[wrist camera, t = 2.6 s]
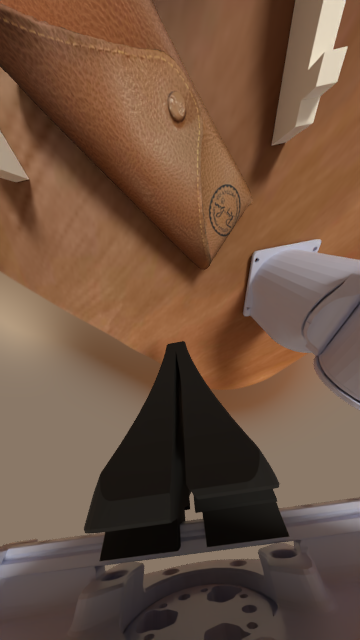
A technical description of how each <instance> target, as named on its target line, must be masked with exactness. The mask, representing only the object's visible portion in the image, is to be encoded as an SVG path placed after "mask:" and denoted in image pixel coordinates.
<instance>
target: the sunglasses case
mask: <svg viewBox="0 0 360 640" xmlns="http://www.w3.org/2000/svg"><path fill="white" fill-rule="evenodd" d="M0 67H1V68H2V69H3V70H4V71H5V72H6V73H8V74H9V76H10V77H11V78H12V79H13V80H14V81H15V82H16V83H17V84H18V85H19V86H20V87H21V88H22V89H23V90H24V92H25V93H26V94H27V95H28V96H29V97H30V98H31V99H32V100H33V101H34V102H35V103H36V104H37V105H38V106H39V107H40V108H41V109H42V110H43V111H44V112H45V114H46V115H47V116H48V117H49V118H50V119H51V120H53V122H54V123H55V124H56V125H57V126H58V127H59V128H60V129H61V130H62V131H63V132H64V133H65V134H66V135H67V136H68V137H69V138H70V139H71V140H72V141H73V142H74V143H75V144H76V145H77V146H78V147H79V148H80V149H81V150H82V151H83V152H84V153H85V154H86V155H87V156H88V157H89V158H90V159H91V161H93V162H94V163H95V164H96V166H98V167H99V168H100V169H101V170H102V171H103V172H104V173H105V174H106V175H107V177H108V178H110V179H111V180H112V181H113V182H114V183H115V184H116V185H117V186H118V187H119V188H120V190H121V191H122V192H123V193H125V194H126V195H127V197H129V198H130V200H131V201H132V202H133V203H135V205H136V206H137V207H138V208H139V209H140V210H141V211H142V212H143V213H144V214H145V215H146V216H147V217H148V218H149V219H150V220H151V221H152V222H153V223H154V224H155V225H156V226H157V227H158V228H159V229H160V230H161V231H162V232H163V233H164V234H165V235H166V236H167V237H168V238H169V239H170V240H171V241H172V242H173V243H174V244H175V245H176V246H177V247H178V248H179V249H180V250H181V251H182V252H183V253H184V254H185V255H186V256H187V257H188V258H190V259H191V261H192V262H194V263H195V264H196V265H197V266H198V267H199V268H200V269H202V270H205V269H207V268H208V267H209V266H210V263H211V261H212V260H213V258H214V257H215V255H216V254H217V252H218V250H219V249H220V247H221V246H222V244H223V243H224V241H225V240H226V238H227V236H228V235H229V234H230V232H231V231H232V229H233V227H234V226H235V224H236V223H237V221H238V220H239V219H240V217H241V216H242V214H243V213H244V211H245V210H246V208H247V207H248V206H249V205H250V204H252V203H253V201H252V196H251V193H250V191H249V189H248V186H247V184H246V183H245V181H244V179H243V177H242V175H241V173H240V171H239V169H238V168H237V166H236V164H235V162H234V160H233V158H232V157H231V155H230V153H229V152H228V149H227V147H226V146H225V144H224V142H223V140H222V138H221V136H220V135H219V133H218V131H217V129H216V127H215V125H214V123H213V121H212V119H211V118H210V116H209V114H208V111H207V110H206V108H205V106H204V104H203V102H202V100H201V98H200V96H199V94H198V92H197V91H196V89H195V87H194V84H193V82H192V80H191V78H190V76H189V74H188V73H187V70H186V68H185V67H184V65H183V63H182V61H181V59H180V57H179V55H178V53H177V51H176V49H175V47H174V44H173V43H172V41H171V39H170V37H169V35H168V33H167V32H166V29H165V27H164V25H163V23H162V21H161V19H160V17H159V15H158V13H157V11H156V9H155V7H154V5H153V3H152V1H151V0H0Z"/></svg>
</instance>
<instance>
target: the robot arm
mask: <svg viewBox="0 0 360 640" xmlns="http://www.w3.org/2000/svg"><path fill="white" fill-rule="evenodd" d="M320 244H321V240H319V239H315V240H310V241H305V242H300V243H295V244H290V245H284V246H279V247H274V248H269V249H264V250H258V251H255V252H254V253H253V255H252V260H251V266H250V272H249V278H248V285H247V291H246V297H245V304H244V310H243V315H244V316H251V317H252V318H253V319H254V320H255V321H256V322H257V323H258V324H259V325H260V326H261V327H262V329H263V330H264V331H265V332H266V333H267V334H268V335H269V336H270V337H271V338H272V339H273V340H274V341H275V342H277V343H278V344H280V345H282V346H284V347H286V348H288V349H290V350H293V351H298V352H305V353H313V354H315V355H316V356H315V358H314V369H315V371H316V373H317V375H318V376H319V378H320V379H321V380H322V382H323V383H324V384H325V385H326V386H327V387H328V388H329V389H330V390H331V391H333V393H335V394H336V395H337V396H338V397H340V398H341V399H343V400H344V401H345V402H347V403H348V404H350V405H351V406H353V407H355V408H356V409H358V410H360V260H356V259H351V258H345V257H339V256H333V255H327V254H321V253H317V251H318V249H319V247H320ZM313 248H314V249H313ZM256 258H257V261H256V262H255V259H256ZM247 307H248V308H247ZM278 487H279V482H278V480H277V477H276V476H275V474H274V472H273V470H272V468H271V467H270V465H269V463H268V462H267V460H266V458H265V457H264V456H263V454H262V452H261V451H260V449H259V448H258V447H257V446H256V444H255V443H254V442H253V441H252V440H251V439H250V438H249V437H248V436H247V434H246V433H245V432H244V431H243V430H242V429H241V428H240V426H239V425H238V424H237V423H236V422H235V420H234V419H233V418H232V417H231V416H230V415H229V413H228V412H227V411H226V409H225V408H224V407H223V406H222V405H221V403H220V402H219V401H218V399H217V398H216V397H215V395H214V394H213V393H212V391H211V390H210V388H209V387H208V386H207V384H206V383H205V381H204V380H203V378H202V376H201V375H200V373H199V372H198V370H197V368H196V366H195V365H194V363H193V361H192V359H191V357H190V355H189V353H188V350H187V347H186V344H185V342H184V341H182V342H177V343H171V344H168V345H167V347H166V352H165V355H164V359H163V362H162V365H161V367H160V370H159V373H158V375H157V378H156V380H155V383H154V385H153V387H152V389H151V391H150V394H149V396H148V398H147V400H146V402H145V403H144V405H143V407H142V409H141V411H140V413H139V415H138V416H137V418H136V420H135V421H134V423H133V425H132V426H131V428H130V430H129V431H128V433H127V435H126V436H125V438H124V439H123V441H122V442H121V444H120V445H119V447H118V448H117V450H116V452H115V453H114V454H113V456H112V457H111V459H110V460H109V462H108V463H107V465H106V466H105V468H104V469H103V471H102V472H101V474H100V477H99V480H98V483H97V486H96V488H95V491H94V494H93V498H92V502H91V505H90V509H89V512H88V516H87V520H86V523H85V527H84V531H85V533H96V534H89V535H82V536H74V537H67V538H60V539H53V540H45V541H38V540H37V539H32V540H25V541H17V542H13V543H9V544H6V545H3V546H1V547H0V640H360V497H359V498H352V499H344V500H338V501H330V502H323V503H315V504H308V505H301V506H294V507H287V508H278V506H277V503H276V502H277V498H276V496H275V494H274V491H273V489H274V488H278ZM191 492H192V493H193V494H194V504H195V512H196V513H197V512H203V519H199V520H191V521H185V510H188V509H190V501H189V495H190V493H191ZM101 532H103V533H101ZM288 541H294V546H291V545H288V544H285V543H280V542H288ZM272 543H275V544H272ZM265 544H272V545H269V546H267V547H264V548H261V549H259V552H258V554H259V558H260V559H234V560H233V559H229V560H212V561H204V562H197V563H191V564H186V565H181V566H177V567H173V568H169V569H165V570H161V571H157V572H152V573H148V574H144V565H143V563H139V562H134V561H142V560H149V559H156V558H165V557H172V556H180V555H187V554H196V553H203V552H211V551H219V550H226V549H234V548H242V547H249V546H256V545H265ZM118 563H121V564H119V565H117V566H115V567H113V568H111V569H109V570H108V571H105V565H111V564H118Z"/></svg>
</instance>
